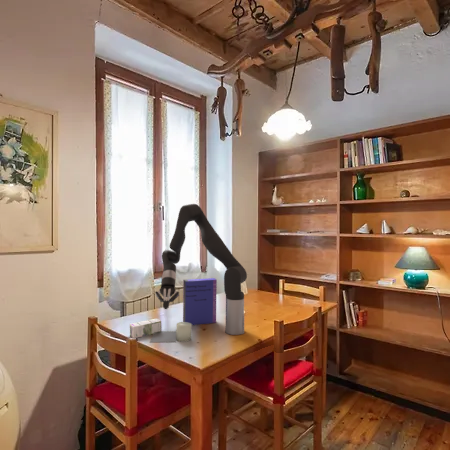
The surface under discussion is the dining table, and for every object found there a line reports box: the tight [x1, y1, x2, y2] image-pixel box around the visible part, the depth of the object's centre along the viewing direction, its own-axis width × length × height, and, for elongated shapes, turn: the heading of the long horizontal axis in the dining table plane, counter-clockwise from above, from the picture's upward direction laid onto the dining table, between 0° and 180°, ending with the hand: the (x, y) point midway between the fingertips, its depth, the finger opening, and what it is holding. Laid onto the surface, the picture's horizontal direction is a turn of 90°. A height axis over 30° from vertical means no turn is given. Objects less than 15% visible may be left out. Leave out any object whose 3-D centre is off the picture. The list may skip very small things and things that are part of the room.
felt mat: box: [149, 330, 178, 343], centre depth 164 cm, size 12×15×1 cm
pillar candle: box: [175, 321, 193, 343], centre depth 162 cm, size 7×7×7 cm
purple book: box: [182, 277, 218, 326], centre depth 187 cm, size 17×5×24 cm, turn 111°
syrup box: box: [129, 318, 162, 339], centre depth 168 cm, size 6×6×14 cm
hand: (165, 308), depth 176 cm, fingers closed
